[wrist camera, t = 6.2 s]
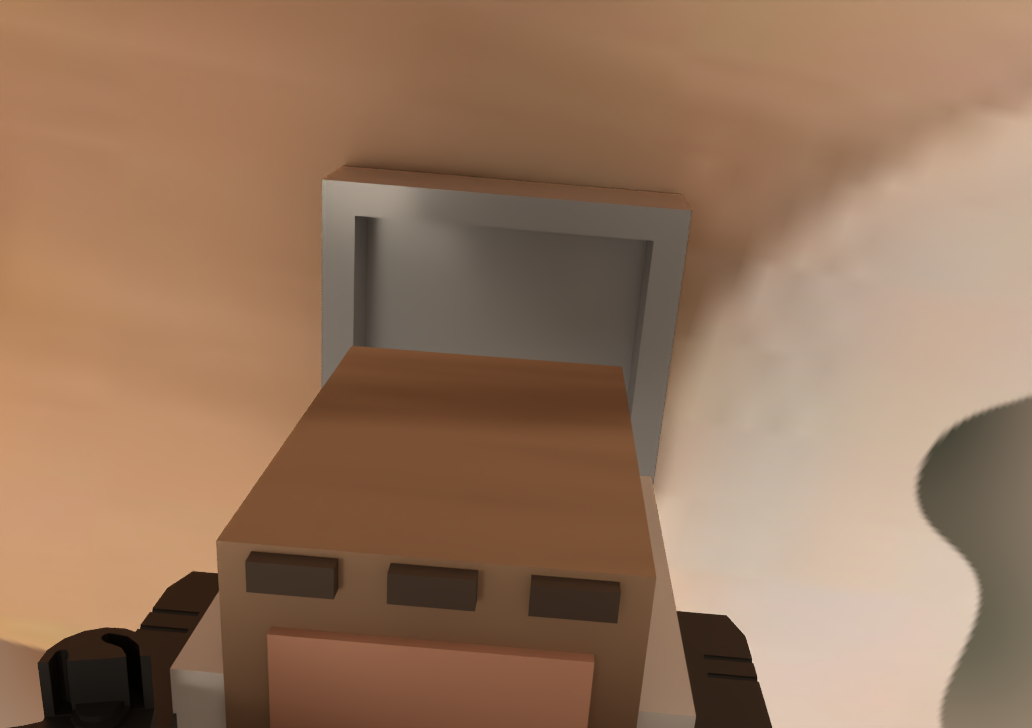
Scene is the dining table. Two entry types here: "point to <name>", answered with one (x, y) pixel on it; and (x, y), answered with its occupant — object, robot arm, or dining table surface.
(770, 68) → the dining table surface
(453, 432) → the brown block
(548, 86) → the dining table surface
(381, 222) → the slate tray
